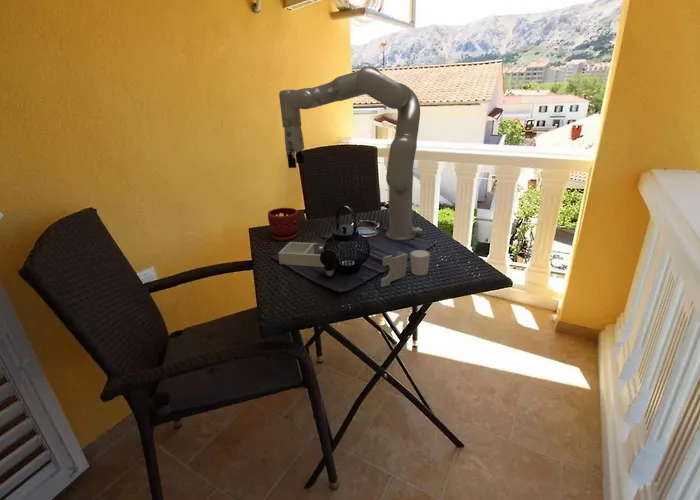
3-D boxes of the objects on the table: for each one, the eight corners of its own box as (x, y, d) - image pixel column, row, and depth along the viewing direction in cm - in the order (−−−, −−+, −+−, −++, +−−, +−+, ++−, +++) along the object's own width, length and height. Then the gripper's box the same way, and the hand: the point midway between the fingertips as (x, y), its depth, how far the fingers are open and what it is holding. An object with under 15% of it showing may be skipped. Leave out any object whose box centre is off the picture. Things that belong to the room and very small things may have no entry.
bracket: (395, 275, 130) (398, 247, 127) (405, 279, 127) (407, 251, 124) (372, 282, 123) (375, 254, 120) (382, 287, 120) (384, 257, 117)
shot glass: (406, 269, 131) (406, 251, 128) (423, 265, 133) (423, 247, 130) (415, 278, 125) (416, 259, 122) (433, 273, 127) (434, 255, 124)
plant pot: (280, 245, 158) (276, 218, 153) (265, 237, 167) (261, 211, 163) (306, 236, 165) (303, 210, 161) (290, 229, 175) (287, 205, 170)
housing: (338, 255, 145) (337, 240, 143) (330, 267, 136) (328, 252, 133) (291, 252, 151) (289, 238, 148) (279, 263, 141) (277, 249, 138)
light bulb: (340, 273, 131) (338, 246, 127) (335, 280, 126) (333, 253, 122) (324, 271, 133) (322, 245, 129) (319, 279, 128) (316, 252, 124)
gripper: (293, 124, 143) (298, 169, 150) (307, 120, 158) (311, 161, 165) (275, 125, 144) (280, 169, 151) (290, 121, 160) (294, 161, 167)
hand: (296, 165), depth 158 cm, fingers open, 9 cm apart
